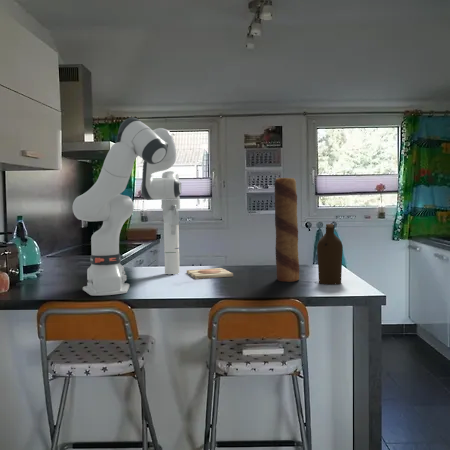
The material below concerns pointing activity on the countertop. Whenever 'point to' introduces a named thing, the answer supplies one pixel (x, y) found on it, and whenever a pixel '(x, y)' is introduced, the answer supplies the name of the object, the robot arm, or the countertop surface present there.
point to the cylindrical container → (171, 250)
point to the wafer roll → (286, 230)
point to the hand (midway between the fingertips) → (171, 233)
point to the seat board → (209, 273)
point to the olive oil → (329, 257)
